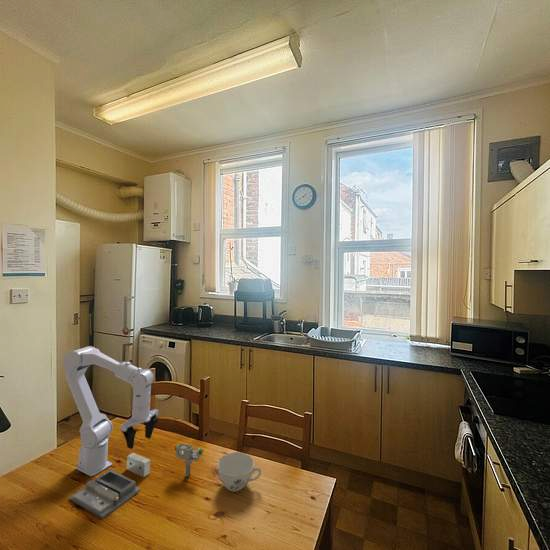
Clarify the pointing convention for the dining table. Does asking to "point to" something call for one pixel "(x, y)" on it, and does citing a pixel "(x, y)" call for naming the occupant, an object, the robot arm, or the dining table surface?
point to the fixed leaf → (105, 493)
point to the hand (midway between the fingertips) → (139, 442)
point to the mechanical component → (187, 455)
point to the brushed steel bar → (138, 464)
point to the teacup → (236, 470)
